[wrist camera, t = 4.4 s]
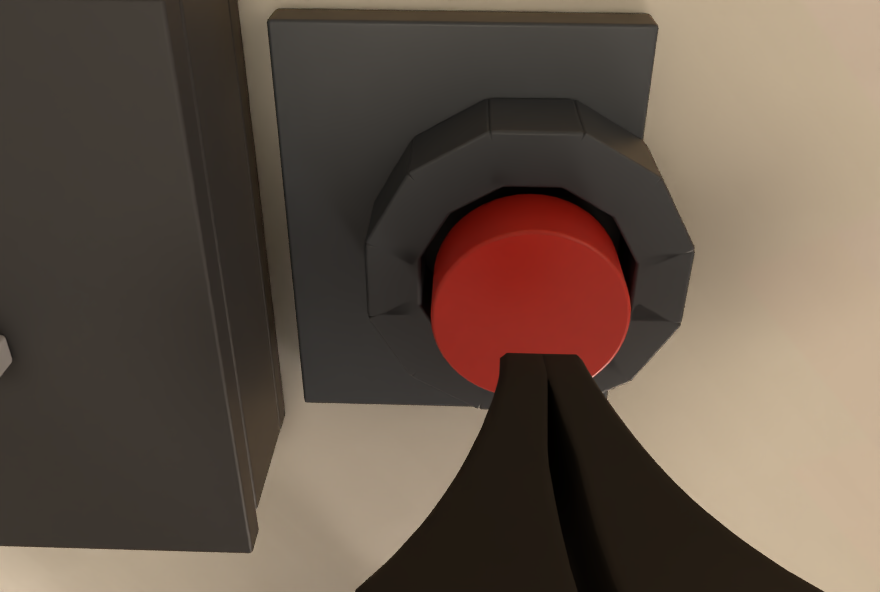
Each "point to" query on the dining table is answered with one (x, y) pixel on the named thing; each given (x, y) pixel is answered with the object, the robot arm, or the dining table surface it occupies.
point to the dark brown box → (236, 220)
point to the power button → (527, 287)
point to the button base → (456, 176)
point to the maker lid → (111, 291)
